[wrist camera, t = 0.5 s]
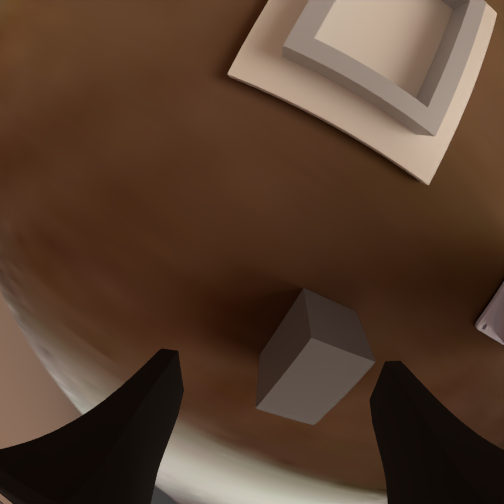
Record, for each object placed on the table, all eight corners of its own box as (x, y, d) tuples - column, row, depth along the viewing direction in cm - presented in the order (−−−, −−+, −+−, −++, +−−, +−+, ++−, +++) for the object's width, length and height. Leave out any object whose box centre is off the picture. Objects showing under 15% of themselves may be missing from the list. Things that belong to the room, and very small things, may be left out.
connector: (356, 311, 19) (375, 362, 14) (308, 371, 21) (314, 425, 16) (303, 287, 18) (311, 337, 14) (259, 353, 21) (255, 408, 16)
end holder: (489, 16, 10) (514, 7, 7) (420, 182, 15) (445, 192, 13) (330, -82, 9) (337, -107, 6) (230, 77, 14) (220, 66, 11)
